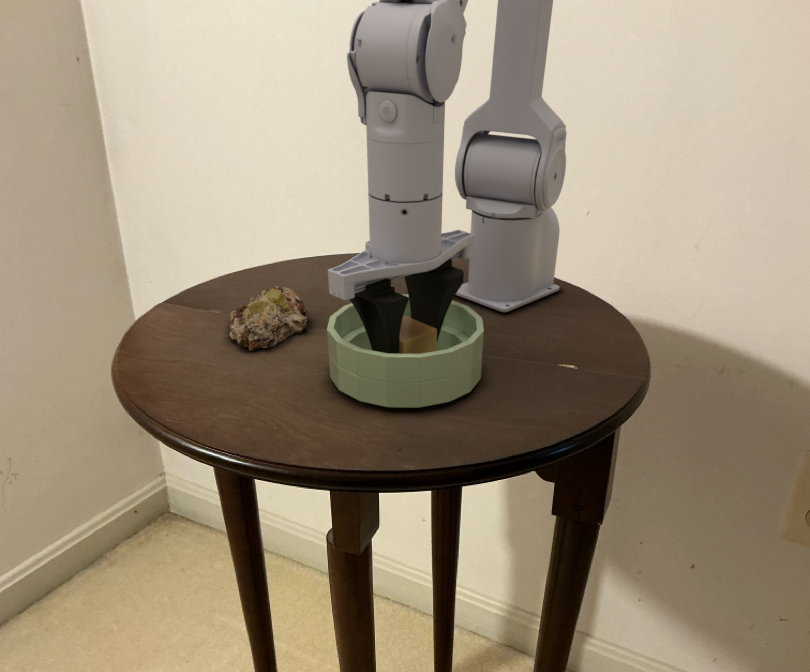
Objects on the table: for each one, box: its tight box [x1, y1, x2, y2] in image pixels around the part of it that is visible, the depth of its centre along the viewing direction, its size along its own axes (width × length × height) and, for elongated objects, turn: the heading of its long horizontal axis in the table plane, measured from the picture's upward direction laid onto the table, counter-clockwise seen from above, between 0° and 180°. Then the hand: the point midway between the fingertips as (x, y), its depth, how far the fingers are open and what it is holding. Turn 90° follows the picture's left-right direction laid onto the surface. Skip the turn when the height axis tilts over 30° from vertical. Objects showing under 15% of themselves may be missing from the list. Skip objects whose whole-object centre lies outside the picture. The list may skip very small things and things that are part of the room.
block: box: [399, 316, 437, 354], centre depth 67 cm, size 4×4×4 cm
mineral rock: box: [228, 285, 308, 352], centre depth 76 cm, size 11×4×8 cm
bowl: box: [326, 293, 485, 409], centre depth 67 cm, size 13×13×5 cm
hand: (405, 357), depth 67 cm, fingers closed on block, 4 cm apart
